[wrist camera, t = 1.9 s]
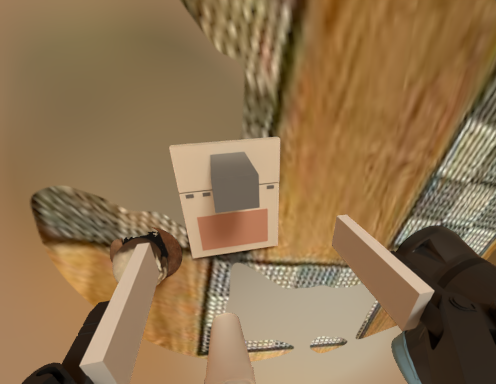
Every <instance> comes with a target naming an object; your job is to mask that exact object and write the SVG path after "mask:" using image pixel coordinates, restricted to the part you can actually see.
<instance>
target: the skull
mask: <svg viewBox="0 0 496 384" xmlns="http://www.w3.org/2000/svg"><path fill="white" fill-rule="evenodd" d="M152 228H154V227H152ZM154 229H156V230H157V231H158V232H159V234H158V232H157V234H158V235H157V236H156V235H154V234H153V233H156V232H153V231H152V232H148V233H149V234H148V235H147V236H146V235H145V236H140V237H135V238H133V237H131V238H130V239H127V237H126V238H125V239H124V243H123V241H122V238H121V239H120V240H118V239H116V240H115V241H113V243H112V245H111V248H110V258H111V261H112V263H113V274H114V277H115V279H116V281H117V282H118V283H119V281H120V279H121V277H122V275H123V273H124V271H125V269H126V267H127V265H128V262H129V260H130V258H131V256H132V254H133V252H134V250H135V248H136V246H137V244H143V243H150V245H151V248H152V252H153V255H154V258H155V261H156V264H157V267H158V270H159V273H160V274H159V277H158V281H157V285H158V284H160V283H161V281H162V280H163V279H164V278H167V277H168V276H170V275H172V274H173V273H174V272H175V271H176V270H177V269H178V267H179V266H180V263H181V260H182V250H181V247H180V245H179V243H178V241H177V240H176V239H175V238H174V237H173V236H171V235H170V234H169V233H167V232H166V231H164V230H161V229H158V228H154ZM155 236H156V237H155Z"/></svg>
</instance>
